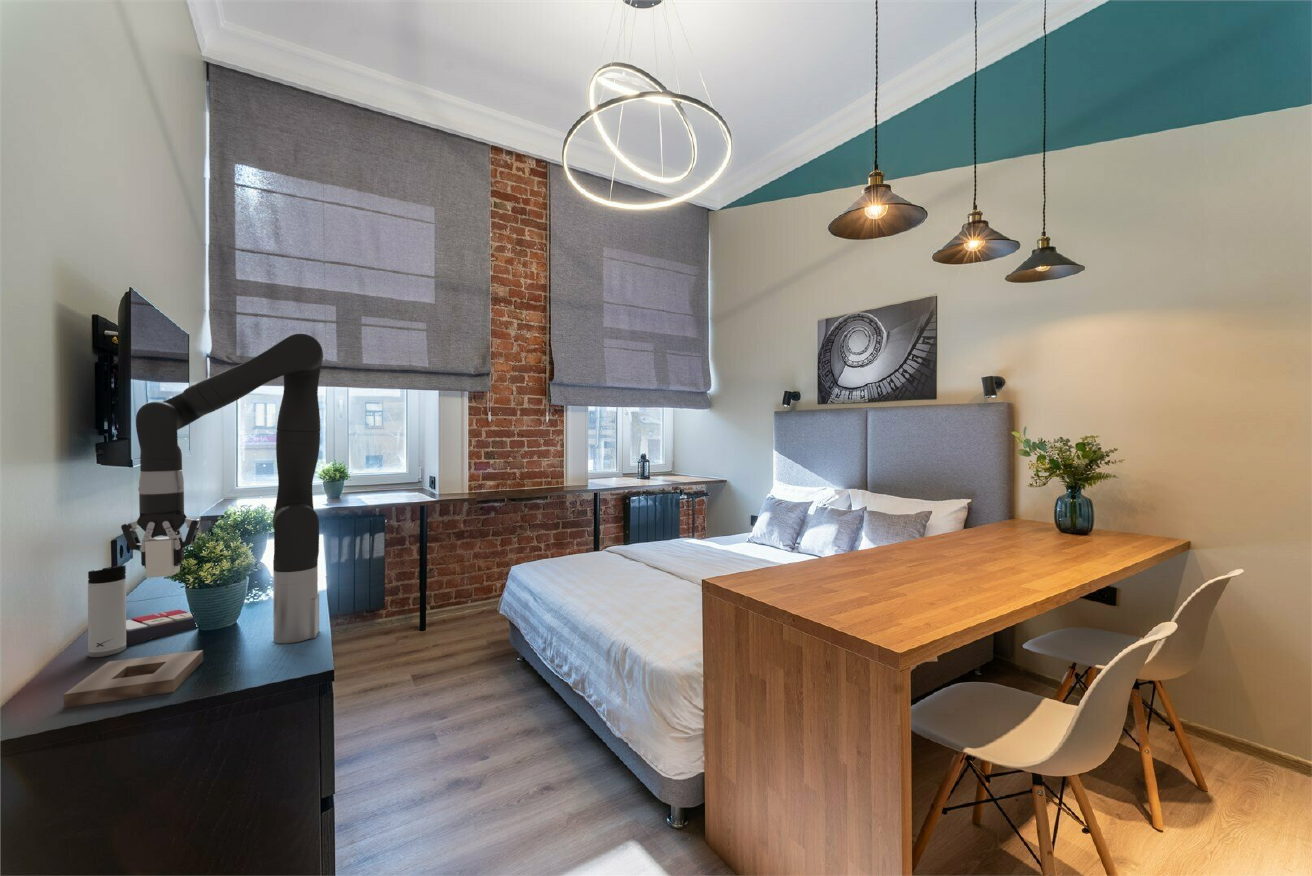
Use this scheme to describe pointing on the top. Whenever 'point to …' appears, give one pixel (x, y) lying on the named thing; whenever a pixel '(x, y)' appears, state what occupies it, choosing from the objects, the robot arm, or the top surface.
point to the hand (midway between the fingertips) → (163, 566)
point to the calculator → (158, 626)
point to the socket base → (134, 678)
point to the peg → (160, 558)
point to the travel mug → (106, 611)
